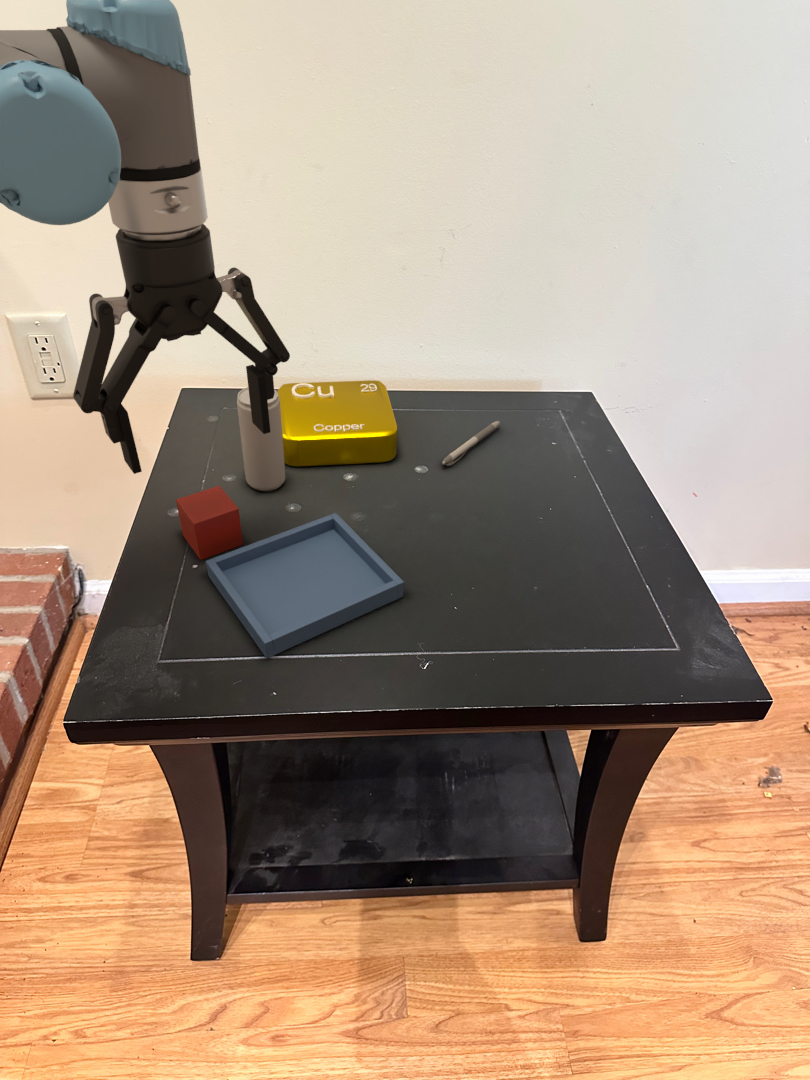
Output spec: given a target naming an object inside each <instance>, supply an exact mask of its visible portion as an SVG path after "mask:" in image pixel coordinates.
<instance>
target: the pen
mask: <svg viewBox="0 0 810 1080" xmlns="http://www.w3.org/2000/svg"><path fill="white" fill-rule="evenodd" d="M500 424H501V421H500V420H496V421H494V422H492V423H490V424H488V425H486V427H484V428H483V429H481V430H480V431H479V432H478V433H477V432H476V434H474V435H473V436H471V437H470V439H469V440H466V441H465V442H464V443H463V444H462V445H460V446H459V447H457V448H456V449H455V450H454V451H451V452H450V453H449V454H448V455H446V456H445V457H444V458H443V459H442V462H441V465H443V466H444V465H445V466H446V467H449V466H452V465H454V464H455V463H456V462H458V461H459V460H460V459H461V458H462V457H463V456H464V455H465V454H466V453H467V451H468V450H469V449H471V448H472V447H473V446H475V445H476V444H478V443H479V442H481V441H482V440H483V439H484V438H486V437H487V436H488V435H490V434H492V433H493V431H495V430H496V429H497V428H498V427H499V426H500Z"/></svg>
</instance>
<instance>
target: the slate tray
mask: <svg viewBox="0 0 810 1080" xmlns="http://www.w3.org/2000/svg"><path fill="white" fill-rule="evenodd" d="M205 565H206V571H207V576H208V578H209V580H211V582H212V583H213V585H214V586H215V588H216V589H217V590H218V592H219V593H220V595H221V596H222V597H223V599H224V600H225V602H226V604H227V605H228V606H229V607H230V609H231V610H232V611H233V613H234V615H235V616H236V617H237V619H238V620H239V622H240V623H241V625H242V626H243V628H244V629H245V630H246V632H247V633H248V634H249V636H250V638H251V639H252V640H253V642H254V643H255V644H256V646H257V647H258V649H259V650H260V651H261V653H262V654H263V656H264V657H265V658H266V659H269V658H271V657H273V656H275V655H277V654H280V653H282V652H284V651H287V650H289V649H291V648H292V647H295V646H298V645H300V644H302V643H304V642H306V641H309V640H311V639H312V638H315V637H317V636H319V635H322V634H324V633H327V632H328V631H330V630H333V629H334V628H337V627H339V626H341V625H343V624H347V623H348V622H350V621H353V620H354V619H357V618H359V617H362V616H363V615H366V614H368V613H370V612H372V611H375V610H377V609H379V608H381V607H384V606H386V605H388V604H390V603H392V602H394V601H397V600H399V599H401V598H403V597H404V592H405V591H404V589H405V588H404V587H405V581H404V580H403V579H402V578H401V577H400V576H399V575H398V574H397V573H396V572H395V571H394V570H393V569H392V568H391V567H390V565H388V564H387V563H386V562H385V561H384V559H382V558H381V557H380V555H378V554H377V553H376V552H375V551H374V550H373V548H371V547H370V545H368V544H367V542H366V541H365V540H364V539H363V538H362V537H360V535H358V534H357V532H355V530H354V529H352V527H351V526H349V525H348V524H347V522H346V521H345V520H344V519H343V518H342V517H341V516H340V515H339V514H338V513H337V512H334V513H331V514H329V515H326V516H323V517H320V518H317V519H315V520H312V521H309V522H307V523H305V524H301V525H299V526H296V527H294V528H290V529H288V530H285V531H282V532H279V533H277V534H274V535H272V536H269V537H266V538H264V539H261V540H258V541H255V542H253V543H250V544H248V545H245V546H242V547H239V548H237V549H234V550H231V551H228V552H225V553H224V554H221V555H217V556H215V557H213V558H210V559H207V560H205Z"/></svg>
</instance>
